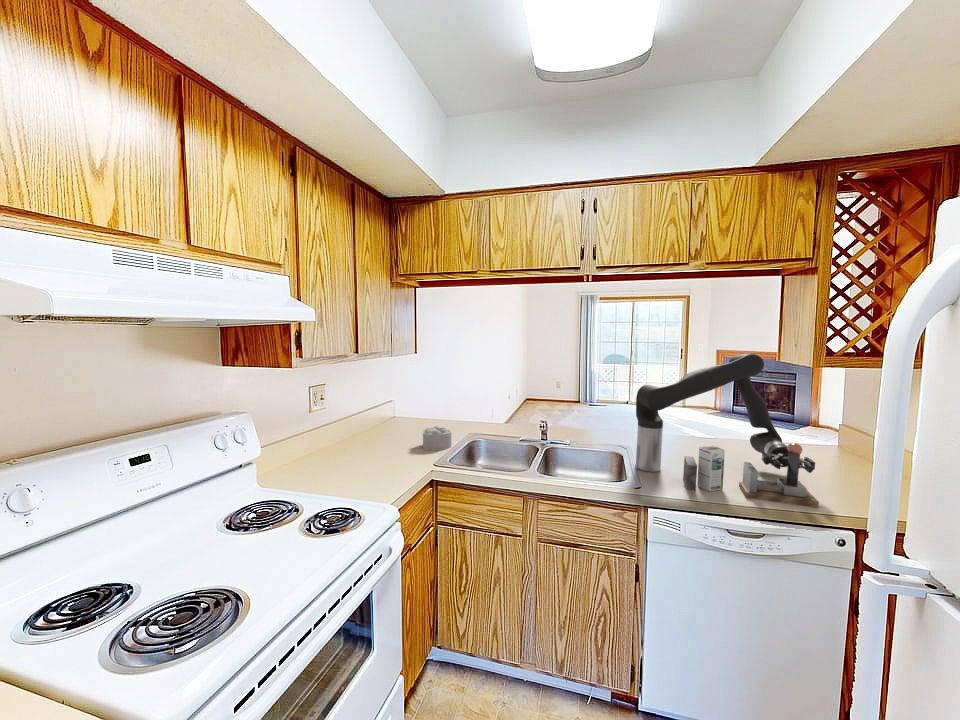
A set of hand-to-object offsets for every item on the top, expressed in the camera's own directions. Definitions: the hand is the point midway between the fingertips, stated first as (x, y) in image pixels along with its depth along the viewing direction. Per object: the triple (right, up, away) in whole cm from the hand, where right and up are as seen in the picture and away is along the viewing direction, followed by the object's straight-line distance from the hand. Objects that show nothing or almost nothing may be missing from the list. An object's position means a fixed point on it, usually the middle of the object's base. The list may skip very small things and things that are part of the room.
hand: (794, 468), depth 137 cm
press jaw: (-4, -8, +4) cm, 10 cm away
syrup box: (-22, -10, +11) cm, 27 cm away
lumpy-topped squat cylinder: (-123, -5, +55) cm, 135 cm away
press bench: (-12, -10, +7) cm, 17 cm away
